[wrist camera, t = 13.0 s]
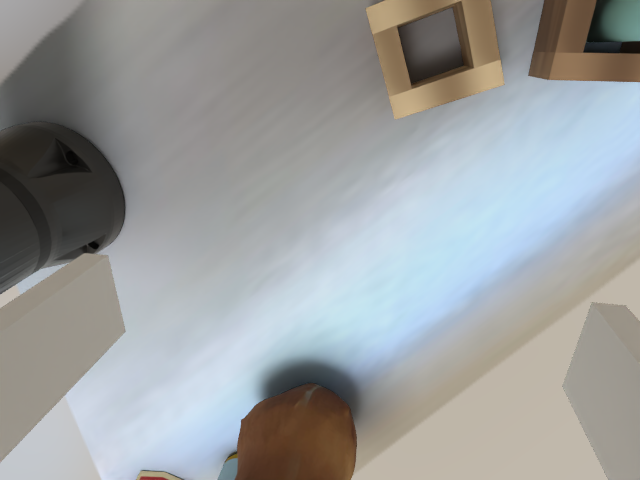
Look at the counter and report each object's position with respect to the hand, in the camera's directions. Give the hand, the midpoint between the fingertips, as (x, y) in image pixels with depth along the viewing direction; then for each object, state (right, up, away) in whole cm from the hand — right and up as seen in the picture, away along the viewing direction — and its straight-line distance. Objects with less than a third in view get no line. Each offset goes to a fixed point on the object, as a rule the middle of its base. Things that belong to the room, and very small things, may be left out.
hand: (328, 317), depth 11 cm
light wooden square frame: (+9, +18, +22) cm, 30 cm away
